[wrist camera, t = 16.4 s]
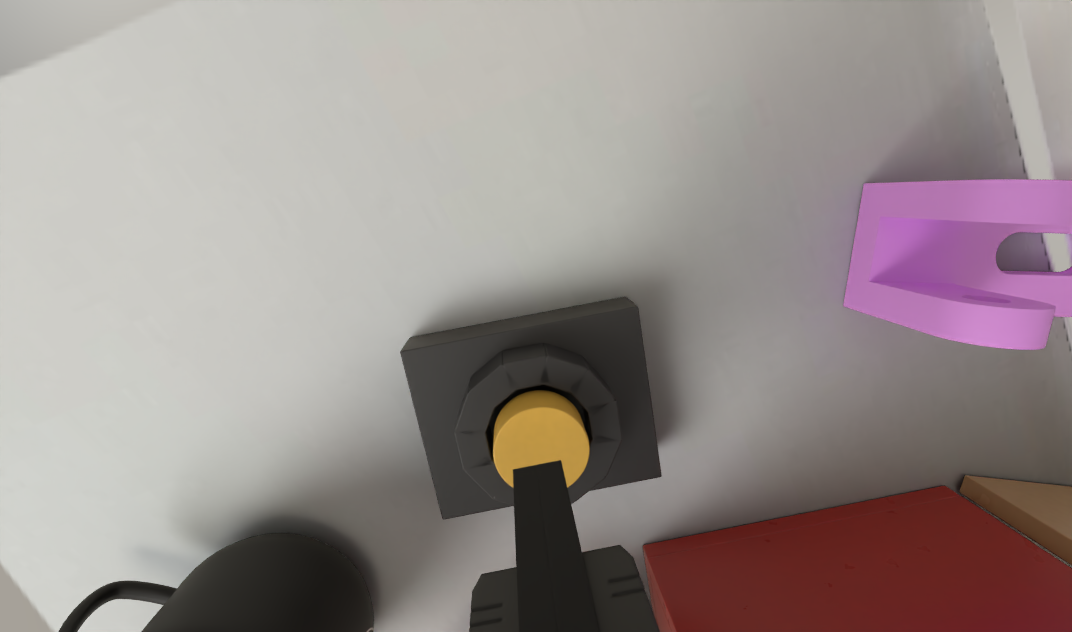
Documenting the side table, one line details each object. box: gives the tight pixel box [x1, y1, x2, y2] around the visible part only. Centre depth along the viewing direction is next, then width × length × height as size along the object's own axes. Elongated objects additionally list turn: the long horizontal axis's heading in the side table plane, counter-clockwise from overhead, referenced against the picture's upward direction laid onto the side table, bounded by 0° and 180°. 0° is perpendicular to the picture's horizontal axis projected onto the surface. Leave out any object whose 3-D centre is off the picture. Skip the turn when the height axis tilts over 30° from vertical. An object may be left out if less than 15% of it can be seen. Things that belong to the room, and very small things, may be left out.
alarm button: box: [493, 390, 590, 488], centre depth 20 cm, size 4×4×2 cm
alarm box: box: [400, 297, 661, 519], centre depth 22 cm, size 10×8×4 cm
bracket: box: [843, 179, 1072, 350], centre depth 21 cm, size 13×6×7 cm, turn 88°
